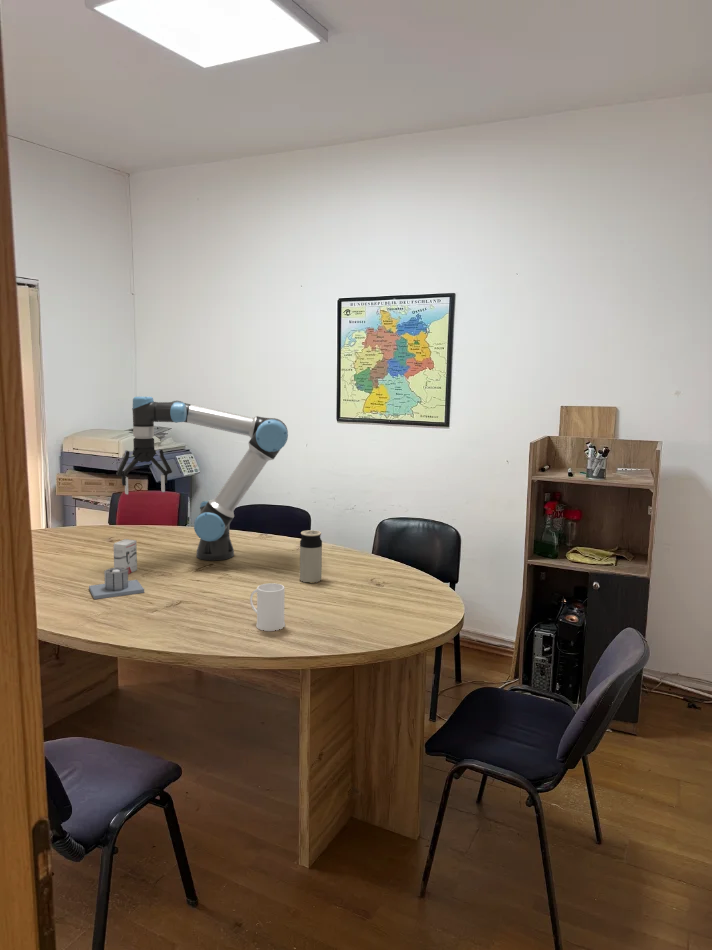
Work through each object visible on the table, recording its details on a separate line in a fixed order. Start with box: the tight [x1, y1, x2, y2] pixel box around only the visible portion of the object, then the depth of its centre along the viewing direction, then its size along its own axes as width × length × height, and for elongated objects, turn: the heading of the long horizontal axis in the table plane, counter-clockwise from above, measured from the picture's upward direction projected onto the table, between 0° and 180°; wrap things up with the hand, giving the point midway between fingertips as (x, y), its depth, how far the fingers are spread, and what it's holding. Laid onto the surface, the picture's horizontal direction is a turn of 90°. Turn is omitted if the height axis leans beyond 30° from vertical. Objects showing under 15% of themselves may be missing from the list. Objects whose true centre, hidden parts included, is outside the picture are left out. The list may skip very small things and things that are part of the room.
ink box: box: [113, 538, 138, 575], centre depth 246 cm, size 9×5×12 cm, turn 168°
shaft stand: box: [88, 570, 145, 600], centre depth 225 cm, size 16×12×7 cm
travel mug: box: [299, 529, 323, 583], centre depth 241 cm, size 8×8×18 cm
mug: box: [249, 582, 286, 632], centre depth 197 cm, size 12×8×12 cm
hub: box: [103, 567, 129, 591], centre depth 225 cm, size 7×7×6 cm
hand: (145, 492), depth 252 cm, fingers open, 13 cm apart
